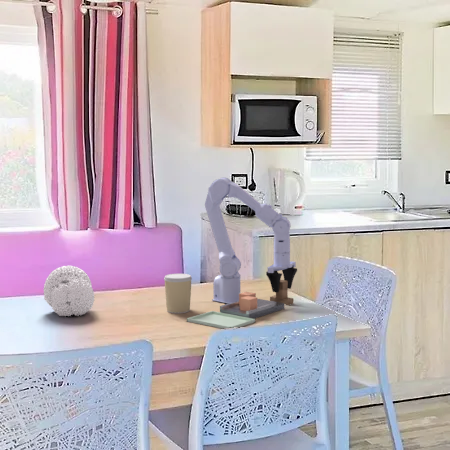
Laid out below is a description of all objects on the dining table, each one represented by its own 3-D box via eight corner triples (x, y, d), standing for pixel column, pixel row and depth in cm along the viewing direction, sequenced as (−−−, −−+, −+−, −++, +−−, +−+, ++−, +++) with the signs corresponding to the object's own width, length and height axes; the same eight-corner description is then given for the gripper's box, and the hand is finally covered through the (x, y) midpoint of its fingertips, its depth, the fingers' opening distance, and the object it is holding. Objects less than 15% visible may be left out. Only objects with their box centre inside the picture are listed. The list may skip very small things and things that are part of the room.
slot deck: (219, 314, 248) (219, 306, 248) (256, 304, 263) (256, 295, 263) (248, 320, 241) (248, 311, 240) (284, 308, 256) (284, 300, 256)
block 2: (240, 310, 246) (240, 298, 246) (247, 307, 249) (247, 296, 249) (249, 311, 244) (249, 299, 243) (257, 309, 247) (257, 297, 246)
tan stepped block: (270, 302, 266) (269, 280, 265) (274, 300, 269) (274, 278, 268) (288, 305, 261) (288, 283, 260) (293, 303, 264) (293, 281, 263)
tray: (186, 321, 240) (186, 318, 240) (212, 313, 250) (212, 310, 250) (230, 330, 229) (230, 327, 229) (255, 322, 238) (255, 319, 238)
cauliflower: (28, 286, 254) (57, 249, 251) (67, 302, 266) (95, 267, 263) (44, 323, 240) (75, 284, 237) (86, 338, 251) (115, 301, 249)
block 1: (239, 305, 253) (239, 293, 252) (246, 303, 256) (246, 291, 255) (248, 307, 250) (248, 295, 250) (255, 304, 253) (255, 293, 253)
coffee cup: (196, 308, 257) (195, 274, 256) (186, 314, 249) (185, 279, 247) (171, 306, 260) (170, 272, 259) (160, 312, 252) (159, 277, 250)
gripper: (279, 255, 255) (279, 295, 256) (302, 250, 266) (302, 288, 268) (262, 254, 259) (262, 292, 261) (286, 248, 270) (286, 285, 272)
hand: (281, 290), depth 264 cm, fingers open, 7 cm apart
